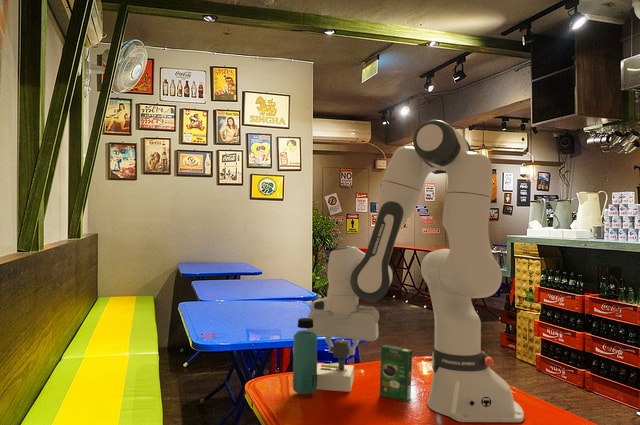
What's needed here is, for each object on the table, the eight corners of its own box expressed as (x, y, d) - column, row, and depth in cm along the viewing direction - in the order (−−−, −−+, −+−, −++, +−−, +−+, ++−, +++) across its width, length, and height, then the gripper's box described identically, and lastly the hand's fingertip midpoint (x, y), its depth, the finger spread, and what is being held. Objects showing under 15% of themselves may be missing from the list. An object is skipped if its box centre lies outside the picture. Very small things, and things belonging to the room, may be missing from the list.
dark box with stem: (349, 367, 134) (350, 339, 135) (347, 372, 131) (347, 343, 131) (323, 365, 136) (323, 337, 136) (319, 369, 132) (320, 340, 133)
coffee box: (412, 399, 123) (413, 348, 123) (408, 403, 120) (408, 351, 120) (383, 393, 127) (384, 343, 127) (379, 396, 125) (379, 346, 125)
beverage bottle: (314, 401, 120) (315, 321, 121) (288, 398, 122) (290, 320, 122) (319, 392, 127) (320, 316, 127) (295, 389, 128) (296, 315, 129)
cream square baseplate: (353, 378, 138) (354, 363, 138) (350, 391, 127) (350, 376, 128) (313, 375, 140) (313, 361, 140) (306, 388, 129) (306, 372, 129)
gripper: (381, 304, 133) (380, 354, 132) (313, 299, 140) (312, 346, 139) (376, 308, 127) (375, 360, 127) (305, 302, 134) (304, 352, 133)
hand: (341, 353), depth 133 cm, fingers open, 4 cm apart
